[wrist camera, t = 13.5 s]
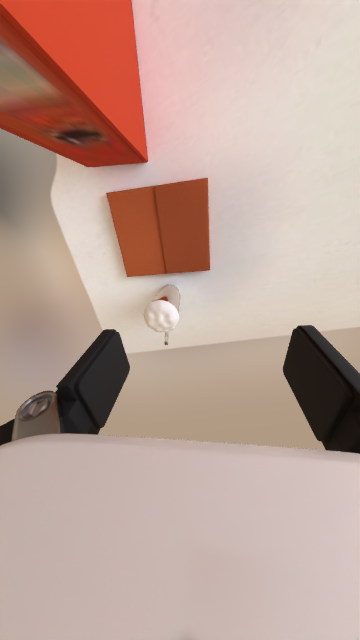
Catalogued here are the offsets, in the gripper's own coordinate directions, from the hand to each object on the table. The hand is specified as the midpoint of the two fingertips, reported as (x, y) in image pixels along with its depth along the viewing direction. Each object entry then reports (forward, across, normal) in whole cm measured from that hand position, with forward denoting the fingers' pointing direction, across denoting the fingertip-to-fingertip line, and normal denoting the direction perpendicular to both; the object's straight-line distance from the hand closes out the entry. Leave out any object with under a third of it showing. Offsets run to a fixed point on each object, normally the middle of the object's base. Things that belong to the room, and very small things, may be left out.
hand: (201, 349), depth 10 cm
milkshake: (+20, +5, +5) cm, 21 cm away
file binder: (+20, +9, -21) cm, 31 cm away
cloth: (+20, +5, -4) cm, 21 cm away
